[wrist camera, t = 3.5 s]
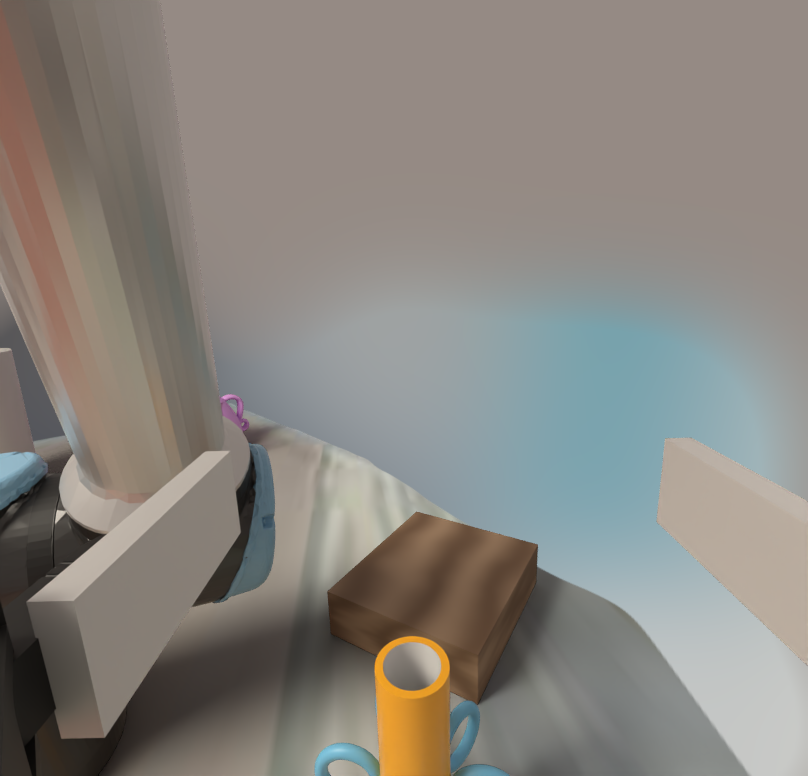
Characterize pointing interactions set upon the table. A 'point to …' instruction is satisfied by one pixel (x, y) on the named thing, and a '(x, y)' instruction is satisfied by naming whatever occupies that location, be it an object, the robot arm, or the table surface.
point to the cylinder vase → (12, 409)
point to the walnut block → (439, 595)
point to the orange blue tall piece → (414, 718)
